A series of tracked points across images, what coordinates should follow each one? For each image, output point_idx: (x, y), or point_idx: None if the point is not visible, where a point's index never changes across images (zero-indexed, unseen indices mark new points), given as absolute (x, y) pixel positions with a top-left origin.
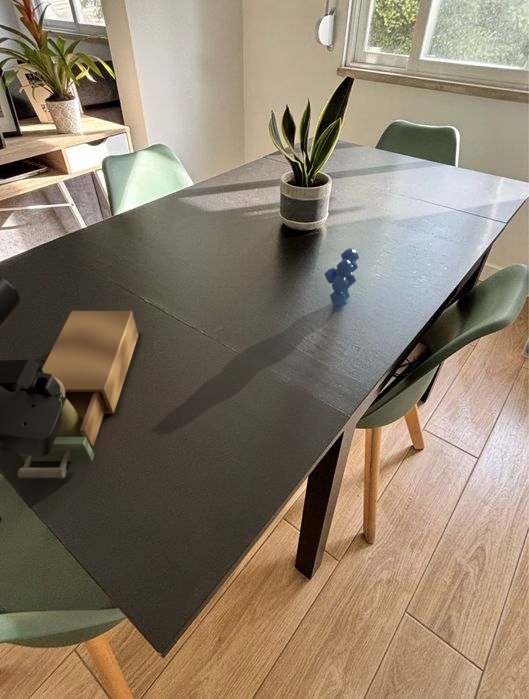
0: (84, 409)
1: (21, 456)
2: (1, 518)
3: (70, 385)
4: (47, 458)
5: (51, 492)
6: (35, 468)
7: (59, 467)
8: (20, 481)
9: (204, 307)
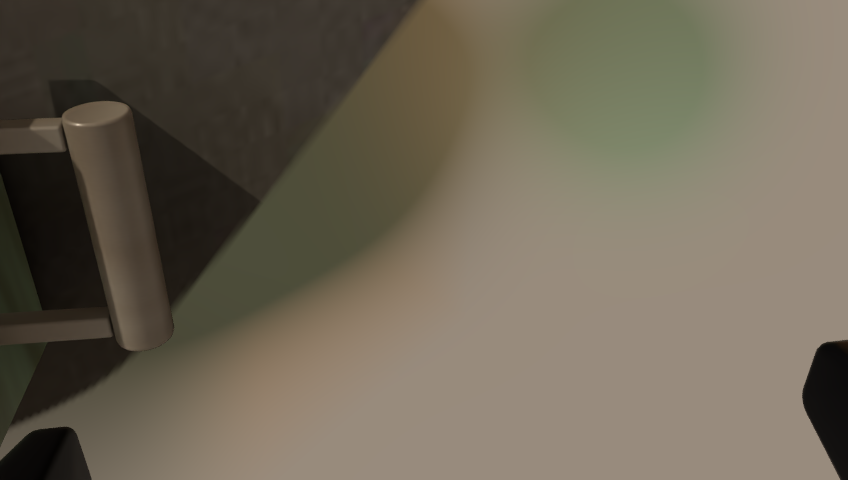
0: None
1: (37, 363)
2: (833, 347)
3: None
4: (8, 244)
5: (183, 153)
6: (111, 277)
7: (71, 151)
8: None
9: None
